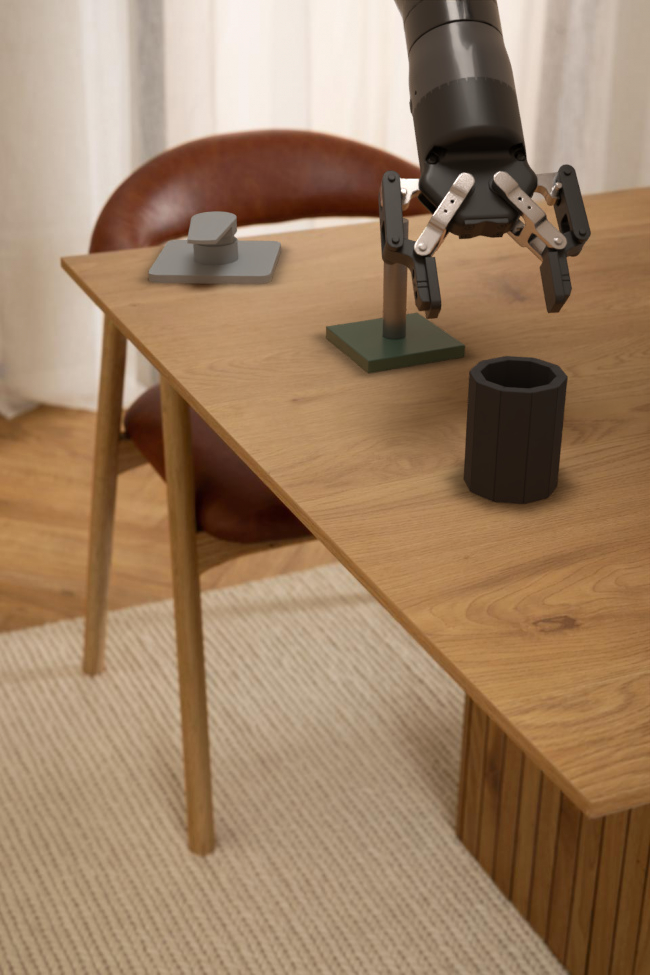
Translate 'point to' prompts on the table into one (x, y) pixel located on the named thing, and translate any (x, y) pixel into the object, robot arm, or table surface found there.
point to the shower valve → (215, 255)
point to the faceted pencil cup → (514, 429)
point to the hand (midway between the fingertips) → (496, 311)
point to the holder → (394, 331)
